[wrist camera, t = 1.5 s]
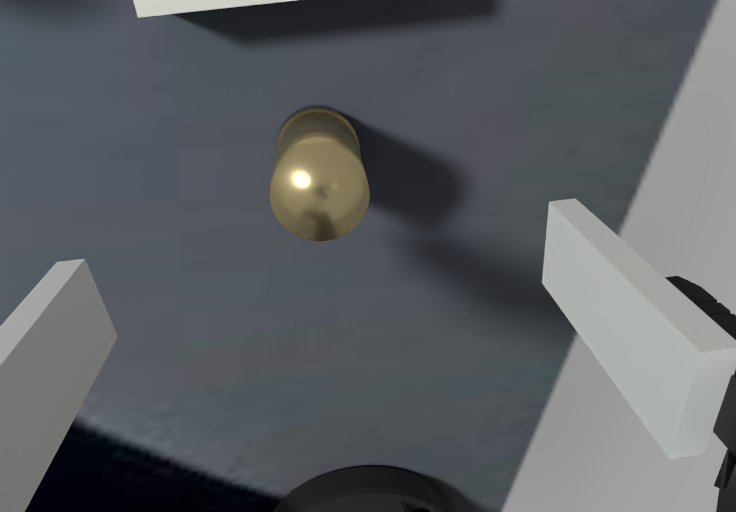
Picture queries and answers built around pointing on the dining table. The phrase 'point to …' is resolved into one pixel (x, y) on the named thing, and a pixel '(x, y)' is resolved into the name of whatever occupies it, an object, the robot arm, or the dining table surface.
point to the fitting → (319, 175)
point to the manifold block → (190, 5)
